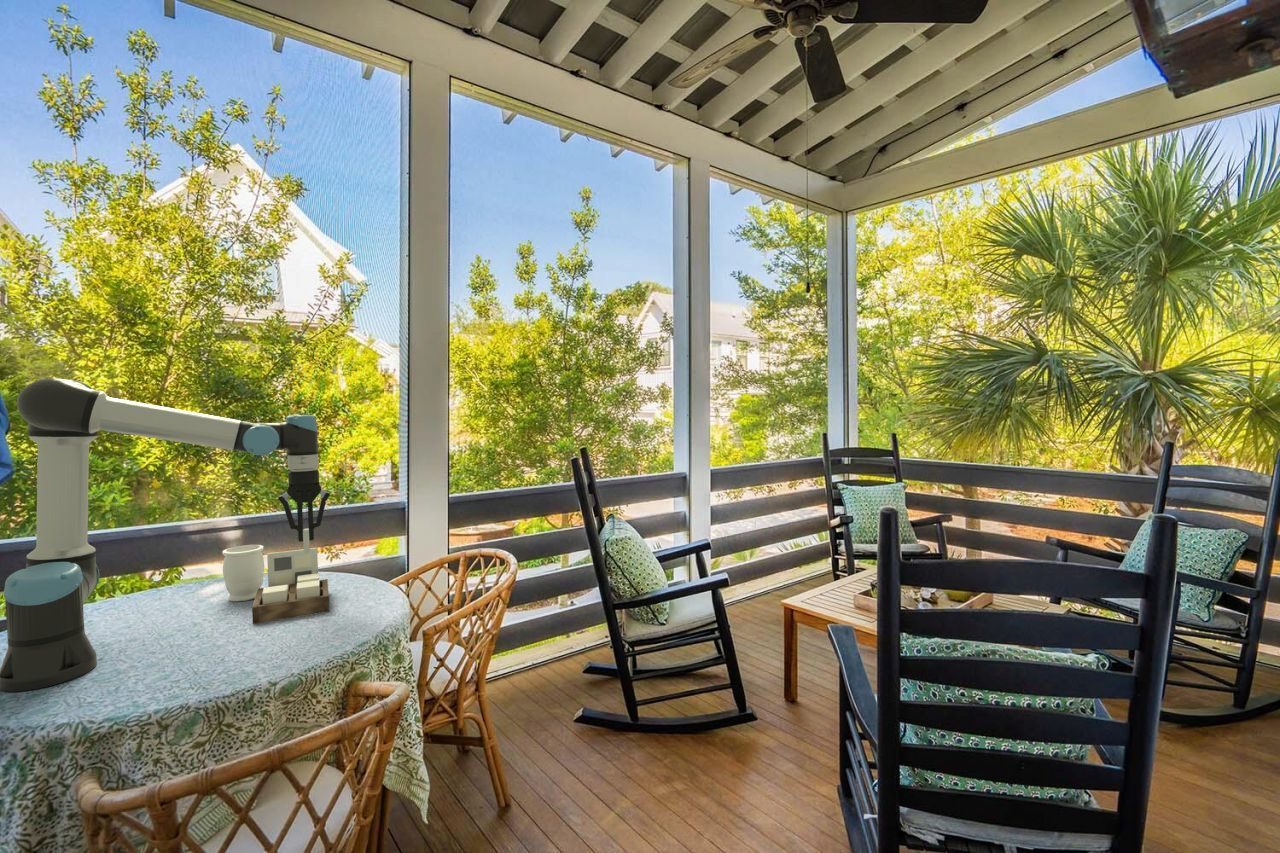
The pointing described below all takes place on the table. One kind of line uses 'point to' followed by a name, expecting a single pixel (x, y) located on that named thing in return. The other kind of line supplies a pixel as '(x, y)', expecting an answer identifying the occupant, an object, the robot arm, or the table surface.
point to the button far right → (308, 578)
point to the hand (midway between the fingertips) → (306, 552)
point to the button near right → (308, 589)
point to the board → (290, 605)
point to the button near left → (275, 594)
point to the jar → (243, 571)
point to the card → (290, 566)
